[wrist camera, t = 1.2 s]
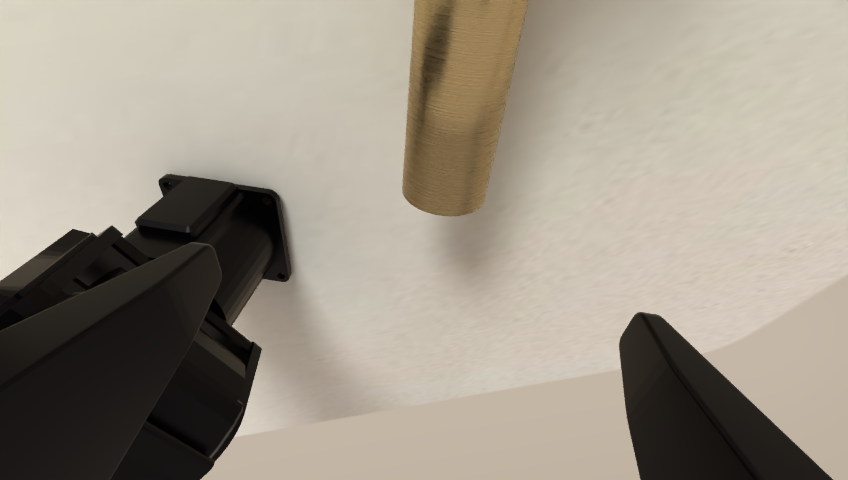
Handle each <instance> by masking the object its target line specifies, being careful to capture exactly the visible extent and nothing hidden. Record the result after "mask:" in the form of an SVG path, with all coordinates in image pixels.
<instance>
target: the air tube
mask: <svg viewBox="0 0 848 480" xmlns="http://www.w3.org/2000/svg"><path fill="white" fill-rule="evenodd" d="M527 5H528V0H415V3H414V18H413V33H412V49H411V64H410V79H409V94H408V109H407V124H406V140H405V155H404V170H403V185H402V192H403V195H404V197H405V198H406V200H407V201H408V202H409V203H410V204H412V205H413V206H414V207H416V208H418V209H420V210H422V211H425V212H428V213H431V214H435V215H441V216H460V215H465V214H469V213H472V212H474V211H476V210H477V209H479V208H480V207H481V206H482V205H483V203H484V200H485V196H486V191H487V187H488V182H489V177H490V173H491V168H492V164H493V159H494V155H495V150H496V146H497V141H498V137H499V132H500V128H501V123H502V118H503V114H504V109H505V105H506V100H507V96H508V91H509V87H510V82H511V78H512V73H513V68H514V64H515V59H516V55H517V50H518V46H519V41H520V37H521V32H522V28H523V23H524V19H525V14H526V9H527Z"/></svg>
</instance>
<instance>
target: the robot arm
mask: <svg viewBox="0 0 848 480" xmlns="http://www.w3.org/2000/svg"><path fill="white" fill-rule="evenodd" d="M169 183H170V184H171V185H170V184H169ZM159 186H160V189H161V191H162V194H163V198H161V199H160V200H159V201H158V202H156V203H155V204H154V205H153V206H152V207H150V208H149V209H148V210H147V211H146V212H144V213H143V214H142V215H141V216H139V217H138V219H137V220H136V221H135V224H136V226H137V227H136V228H135V229H134V230H133V231H132V232H130V233H129V234H128V235H127V236H126V237H125V238H123V237H122V235H123V234H122V233H121V232H119V231H118V230H117V229H116V228H115V227H113V226H110V227H109V228H107V229H106V230H104V231H103V232H101V233H100V234H98V235H97V236H96V235H95V234H93V233H86V232H82V231H78V230H75V229H72V230H71V231H69V232H68V233H67V234H65V235H64V236H63V237H61V238H60V239H58V240H57V241H56V242H54V243H53V244H52V245H50V246H49V247H47V248H46V249H45V250H43V251H42V252H40V253H39V254H38V255H36V256H35V257H33V258H32V259H31V260H29V261H28V262H26V263H25V264H24V265H22V266H21V267H19V268H18V269H17V270H15V271H14V272H13V273H11V274H10V275H8V276H7V277H6V278H4V279H3V280H1V281H0V480H200V479H201V478H202V477H203V476H204V475H206V474H207V473H208V472H209V471H210V470H211V469H212V467H213V465H214V462H215V461H216V460H217V459H218V457H220V455H221V454H222V453H223V451H224V450H225V449H226V447H228V445H229V444H230V442H231V441H232V439H233V437H234V436H235V434H236V432H237V430H238V428H239V427H240V425H241V422H242V419H243V416H244V413H245V410H246V406H247V402H248V398H249V395H250V391H251V387H252V384H253V380H254V376H255V372H256V369H257V365H258V361H259V357H260V354H261V350H262V348H261V347H259V346H258V345H257V344H256V343H254V342H250V341H249V340H248V339H247V338H245V337H244V336H243V335H242V334H240V333H239V332H238V331H237V330H236V329H234V328H233V327H232V325H233V323H234V322H235V320H236V319H237V317H238V316H239V314H240V313H241V311H242V309H243V308H244V306H245V305H246V303H247V302H248V300H249V299H250V297H251V296H252V294H253V293H254V291H255V289H256V288H257V286H258V285H259V283H260V282H261V280H262V279H268V280H275V281H281V282H286V281H288V280H289V278H290V276H291V267H290V261H289V255H288V249H287V242H286V236H285V230H284V224H283V217H282V211H281V205H280V199H279V196H278V194H277V193H276V192H274V191H273V190H270V189H264V188H258V187H251V186H244V185H238V184H234V183H230V182H224V181H217V180H211V179H204V178H197V177H191V176H189V177H185V176H178V175H172V174H166V175H164V176H163V177H162V178H160V179H159ZM266 197H268V198H270V199H271V201H269V200H268V199H267V198H266ZM619 350H620V359H621V369H622V378H623V388H624V397H625V406H626V413H627V419H628V424H629V430H630V434H631V439H632V443H633V447H634V452H635V457H636V461H637V466H638V470H639V475H640V479H641V480H833V479H832V478H831V477H830V476H829V475H828V474H826V473H825V472H824V471H823V470H822V469H821V468H820V467H819V466H818V465H817V464H816V463H815V462H814V461H813V460H812V459H811V458H810V457H809V456H808V455H806V454H805V453H804V452H803V451H802V450H801V449H800V448H799V447H798V446H797V445H796V444H795V443H794V442H793V441H791V439H790V438H789V437H787V436H786V435H785V434H784V433H783V432H782V431H781V430H780V429H779V428H778V427H777V426H776V425H775V424H774V423H773V422H772V421H771V420H770V419H769V418H767V417H766V416H765V415H764V414H763V413H762V412H761V411H760V410H759V409H758V408H757V407H756V406H755V405H754V404H753V403H752V402H751V401H750V400H749V399H747V398H746V397H745V396H744V395H743V394H742V393H741V392H740V391H739V390H738V389H737V388H736V387H735V386H734V385H733V384H732V383H731V382H730V381H729V380H727V379H726V378H725V377H724V376H723V375H722V374H721V373H720V372H719V371H718V370H717V369H716V368H715V367H714V366H713V365H712V364H711V363H710V362H709V361H707V360H706V359H705V358H704V357H703V356H702V355H701V354H700V353H699V352H698V351H697V350H696V349H695V348H694V347H693V346H692V345H691V344H690V343H689V342H688V341H686V340H685V339H684V338H683V337H682V336H681V335H680V334H679V333H678V332H677V331H676V330H675V329H674V328H673V327H672V326H671V325H670V324H669V323H668V322H666V321H665V320H664V319H663V318H662V317H661V316H659V315H656V314H650V313H644V312H639V313H637V314H635V315H634V317H633V318H632V320H631V321H630V323H629V325H628V326H627V328H626V329H625V331H624V333H623V334H622V336H621V338H620V343H619Z"/></svg>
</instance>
